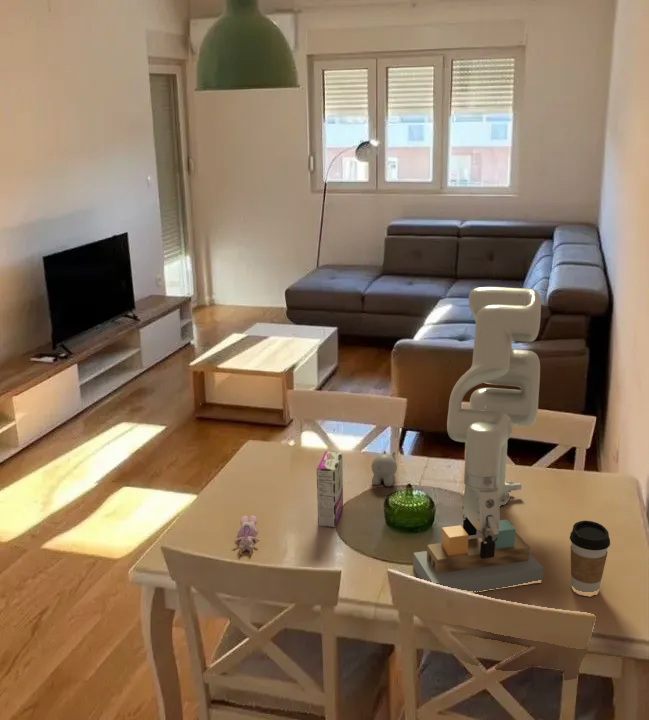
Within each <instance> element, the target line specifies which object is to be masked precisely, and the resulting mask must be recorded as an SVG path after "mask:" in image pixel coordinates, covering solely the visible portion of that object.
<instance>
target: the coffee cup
mask: <svg viewBox="0 0 649 720" xmlns="http://www.w3.org/2000/svg"><path fill="white" fill-rule="evenodd" d="M569 535H570V536H569V540H570V542H571V544H570V586H571V585H572V586H573V587H574V588H575V589H576V590H578V591H582V592H594V591H597V590H598V589H599V588H600V589H601V584H602V578H603V574H604V570H605V566H606V562H607V556H608V548H609V547H610V545H611V538H610V535H609V531H608V529H607V528H606V527H605V526H603V525H602V524H601V523H599V522H596V521H591V520H580V521H577V522H575V523H574V524H573V526H572V531H571V532H570V534H569ZM600 589H599V590H600Z"/></svg>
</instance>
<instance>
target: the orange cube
mask: <svg viewBox="0 0 649 720" xmlns="http://www.w3.org/2000/svg"><path fill="white" fill-rule="evenodd" d="M469 537H470V536H469V535H468V534H467V532H466V531H465V530H464V529H463V525H459V524H458V525H452V526H444V527H441V540H440V541H441V542H440V543H441V546H442V547H443V548H444V550H445V551H446V553H447V554H448V555H456V554H463V553H468V539H469Z"/></svg>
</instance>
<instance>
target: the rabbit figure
mask: <svg viewBox="0 0 649 720" xmlns="http://www.w3.org/2000/svg"><path fill="white" fill-rule="evenodd" d="M239 521H240V522H239V523H240V528H239V529H238V531H237V535H238V537H237V538H236V539H234V540H233V541H234V542H235V543H236V542H238V541H239V544H238V545H239V546H238V549H239V553H238V556H241V555H243V553H244V552H245V551H248V552H249V553H248V555H253V551H254V548H255V544H254V542H253V540H254V541H255V540H256V541H257V542H260V538H258V537H257V535H258V534H259V530H258V529H257V528H256V525H257V524H258V520H257V516H255V515H250V517H248V515H243V516H241V518H240V520H239Z"/></svg>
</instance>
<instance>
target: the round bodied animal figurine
mask: <svg viewBox="0 0 649 720" xmlns="http://www.w3.org/2000/svg"><path fill="white" fill-rule="evenodd" d="M397 470H398V464H397V460H396V451H394V452H391V453H390V452H387V451H386V450H383V453H381V454H378V455H376V457H375V458H373V460H372V463H371V471H372V473H373V476H372V479H371V483H372V485H374V486H380V485H381V483H382V482H383V484H384V486H386V487H392V486H393V485H394V482H395V480H396V477H395V475H396V472H397Z"/></svg>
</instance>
